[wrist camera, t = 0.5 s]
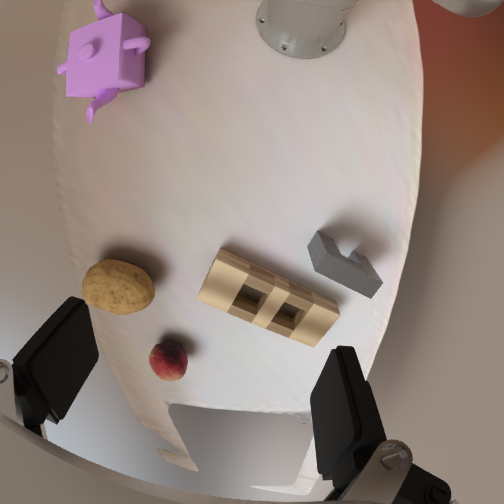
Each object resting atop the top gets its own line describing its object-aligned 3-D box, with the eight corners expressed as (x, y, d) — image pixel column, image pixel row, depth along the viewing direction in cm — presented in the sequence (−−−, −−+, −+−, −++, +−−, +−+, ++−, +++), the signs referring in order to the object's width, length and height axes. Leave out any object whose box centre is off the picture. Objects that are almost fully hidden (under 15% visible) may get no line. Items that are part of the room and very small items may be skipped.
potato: (167, 301, 49) (153, 328, 42) (103, 294, 50) (84, 318, 43) (159, 252, 45) (141, 275, 38) (92, 250, 46) (69, 270, 39)
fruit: (154, 352, 55) (142, 378, 48) (158, 327, 52) (145, 355, 45) (187, 364, 56) (179, 392, 49) (195, 340, 53) (186, 370, 46)
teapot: (184, 59, 32) (157, 39, 23) (123, 123, 37) (83, 124, 27) (127, 12, 28) (93, -10, 18) (75, 72, 32) (33, 66, 23)
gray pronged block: (307, 246, 44) (314, 271, 36) (317, 230, 42) (326, 252, 35) (356, 272, 45) (371, 298, 38) (366, 258, 44) (383, 282, 36)
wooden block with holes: (220, 247, 44) (215, 258, 41) (335, 301, 47) (340, 315, 44) (201, 286, 47) (196, 299, 44) (311, 333, 51) (313, 347, 47)
